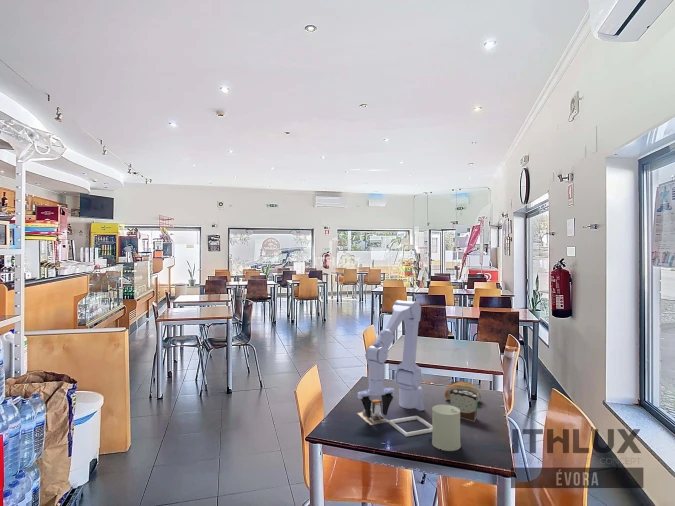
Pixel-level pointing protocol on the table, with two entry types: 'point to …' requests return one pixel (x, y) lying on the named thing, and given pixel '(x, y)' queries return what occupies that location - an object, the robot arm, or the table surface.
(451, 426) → the can
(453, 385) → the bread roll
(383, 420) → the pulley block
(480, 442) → the table surface
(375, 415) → the glass shaker
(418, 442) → the table surface
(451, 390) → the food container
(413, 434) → the white square frame
